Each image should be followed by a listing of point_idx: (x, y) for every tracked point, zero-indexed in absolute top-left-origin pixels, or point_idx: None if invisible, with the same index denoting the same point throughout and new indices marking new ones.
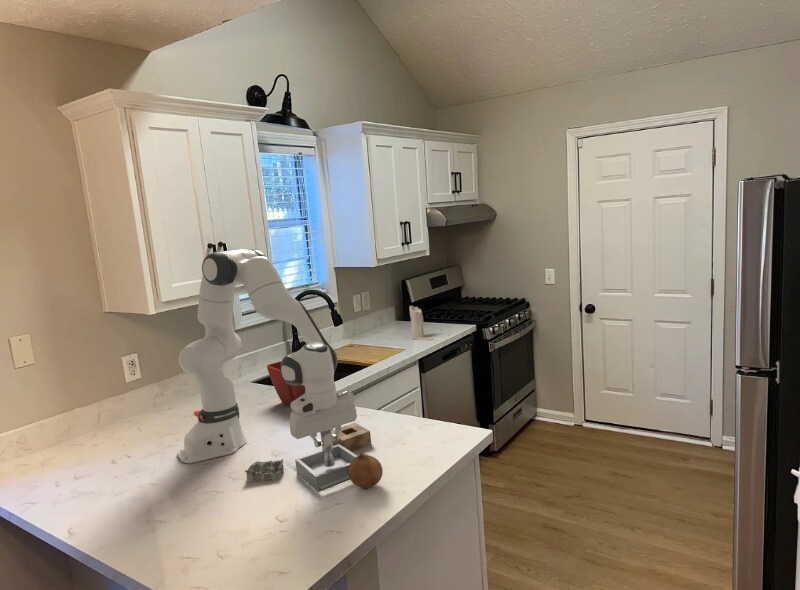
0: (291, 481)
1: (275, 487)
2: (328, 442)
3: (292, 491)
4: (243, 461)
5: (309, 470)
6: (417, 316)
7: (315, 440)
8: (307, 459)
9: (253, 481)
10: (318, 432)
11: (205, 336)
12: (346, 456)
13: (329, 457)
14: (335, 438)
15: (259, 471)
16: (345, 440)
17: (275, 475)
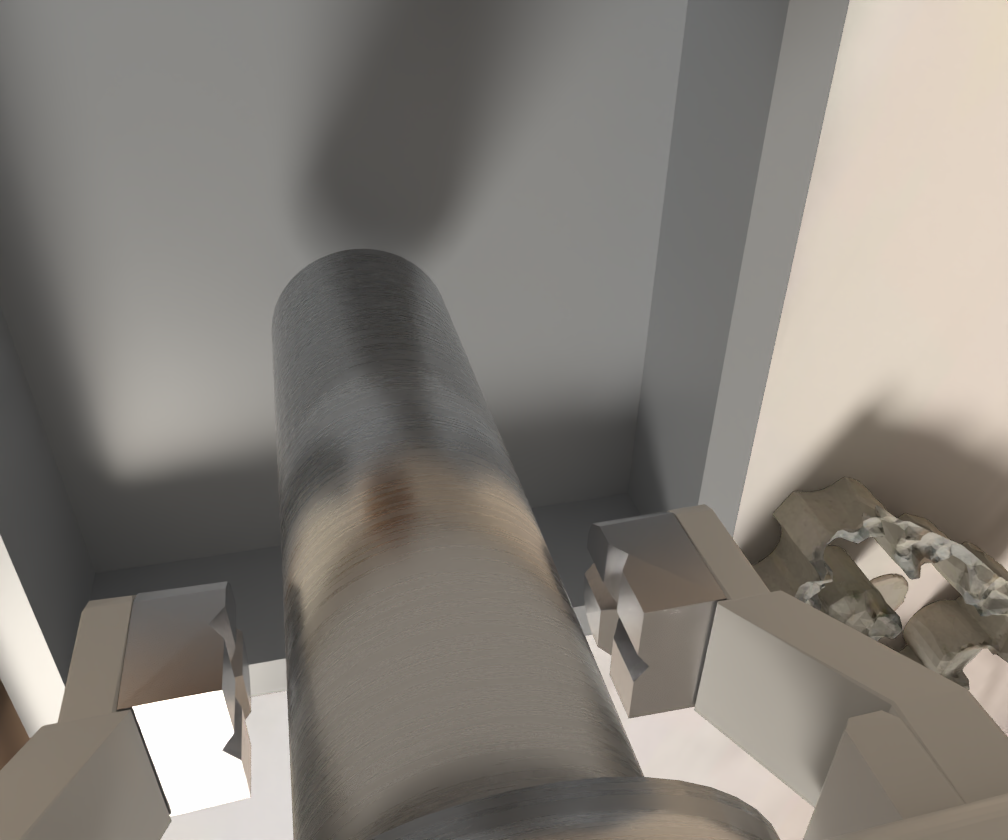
0: (774, 368)
1: (938, 345)
2: (448, 525)
3: (905, 141)
4: (805, 825)
5: (794, 203)
6: None
7: (829, 623)
8: (567, 577)
9: (969, 544)
10: (910, 820)
11: None
12: (6, 432)
13: (404, 323)
14: (188, 633)
15: (980, 597)
16: None
17: (870, 508)
